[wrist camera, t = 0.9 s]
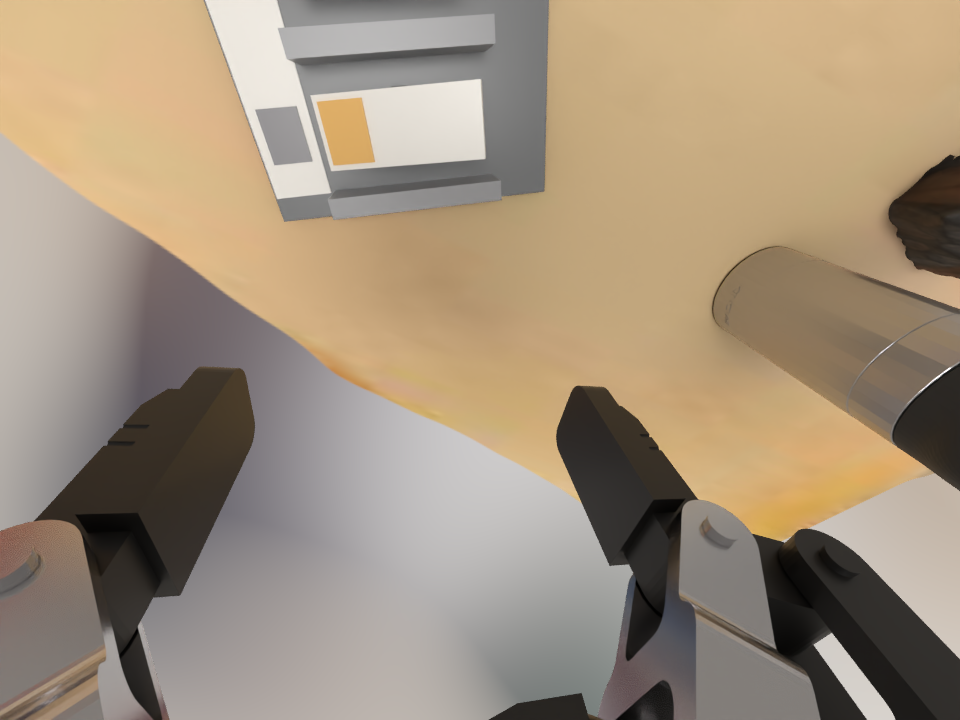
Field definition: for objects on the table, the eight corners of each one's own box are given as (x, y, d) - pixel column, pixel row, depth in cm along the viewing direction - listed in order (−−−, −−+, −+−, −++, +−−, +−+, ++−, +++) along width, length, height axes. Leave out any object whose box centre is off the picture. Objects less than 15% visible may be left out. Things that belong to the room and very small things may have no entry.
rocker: (482, 78, 20) (480, 76, 18) (486, 157, 22) (485, 161, 21) (323, 93, 21) (308, 92, 19) (342, 168, 23) (330, 173, 21)
